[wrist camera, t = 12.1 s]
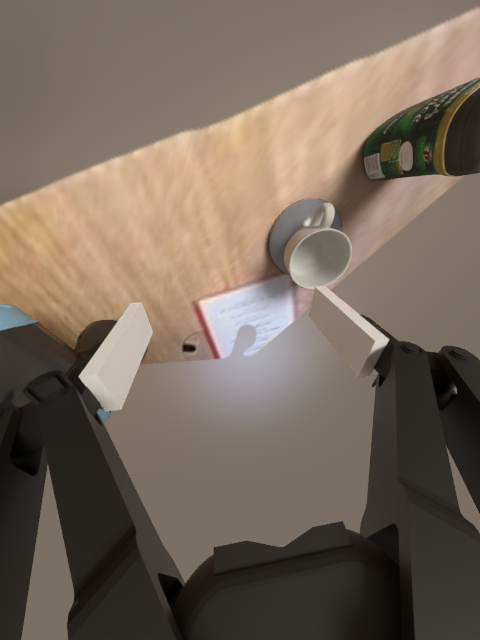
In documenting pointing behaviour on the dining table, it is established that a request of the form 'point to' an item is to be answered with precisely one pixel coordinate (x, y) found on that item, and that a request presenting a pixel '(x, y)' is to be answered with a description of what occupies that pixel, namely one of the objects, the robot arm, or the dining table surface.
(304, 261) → the teacup
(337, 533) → the robot arm
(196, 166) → the dining table surface
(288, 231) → the charcoal plate
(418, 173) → the coffee jar
